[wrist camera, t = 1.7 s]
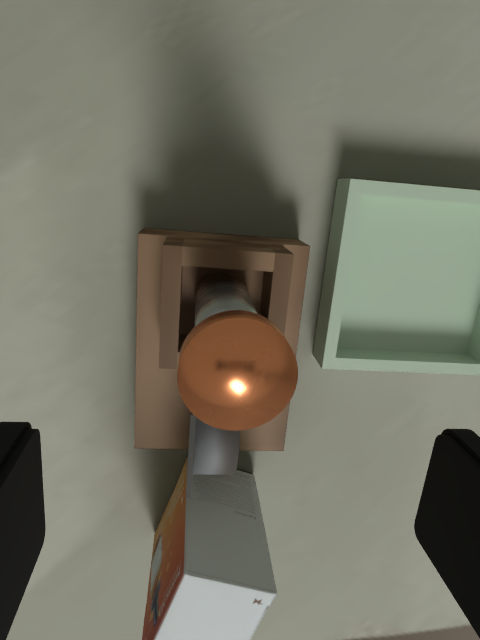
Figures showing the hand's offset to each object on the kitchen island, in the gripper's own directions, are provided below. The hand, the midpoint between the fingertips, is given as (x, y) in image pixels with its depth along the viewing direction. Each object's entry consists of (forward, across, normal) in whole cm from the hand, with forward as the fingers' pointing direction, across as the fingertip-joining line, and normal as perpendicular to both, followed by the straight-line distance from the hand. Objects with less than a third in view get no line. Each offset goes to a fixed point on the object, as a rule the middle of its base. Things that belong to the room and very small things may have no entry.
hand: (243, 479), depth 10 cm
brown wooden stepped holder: (+20, -1, +4) cm, 21 cm away
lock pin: (+17, -1, 0) cm, 17 cm away
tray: (+20, -14, -1) cm, 24 cm away
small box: (+20, -1, +18) cm, 27 cm away
